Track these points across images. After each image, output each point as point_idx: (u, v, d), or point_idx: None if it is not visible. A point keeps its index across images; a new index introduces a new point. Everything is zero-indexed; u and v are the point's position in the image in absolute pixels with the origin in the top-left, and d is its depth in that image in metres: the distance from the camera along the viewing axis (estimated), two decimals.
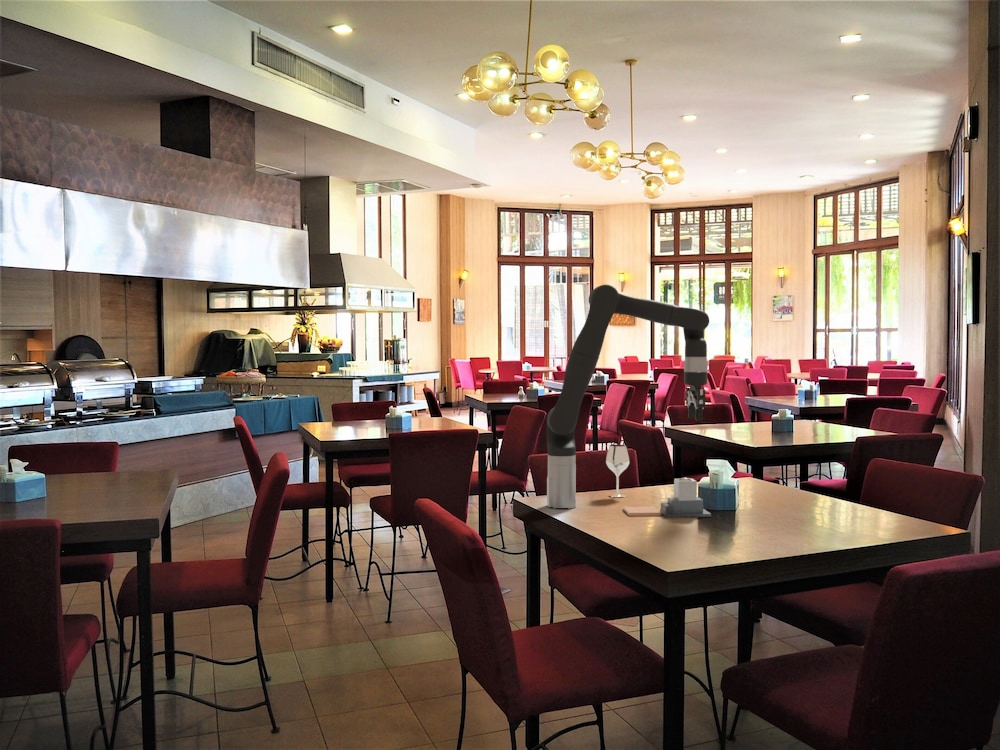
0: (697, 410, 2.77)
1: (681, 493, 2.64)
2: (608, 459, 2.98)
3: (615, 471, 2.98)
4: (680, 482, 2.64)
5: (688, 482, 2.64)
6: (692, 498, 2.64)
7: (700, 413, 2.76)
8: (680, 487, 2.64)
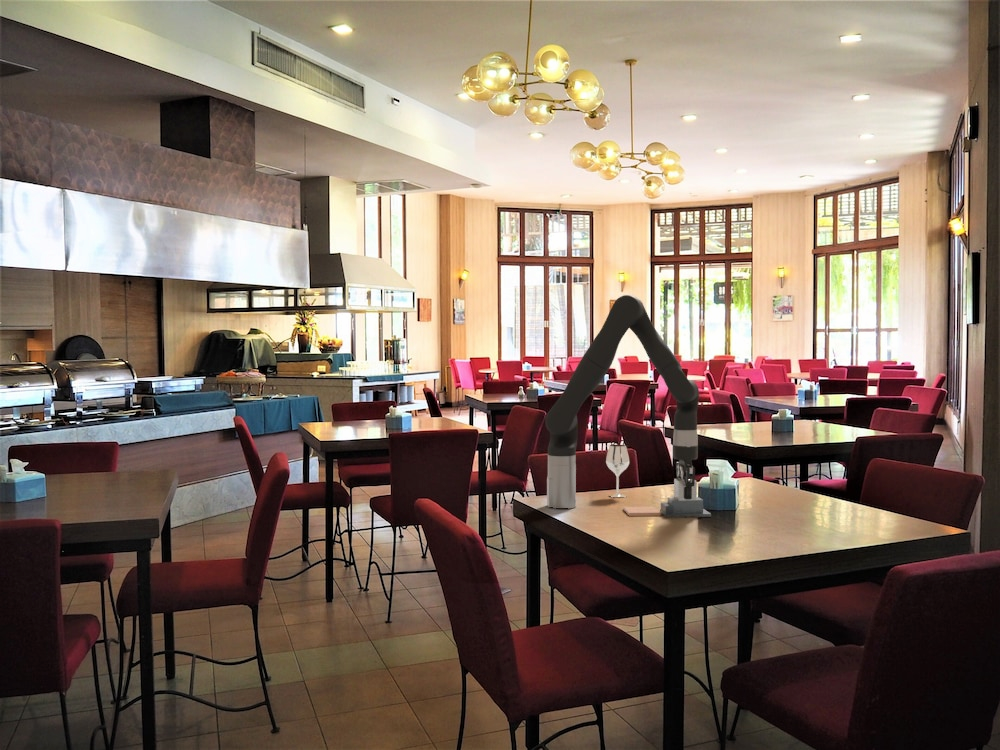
0: (686, 488, 2.63)
1: (681, 493, 2.64)
2: (608, 459, 2.98)
3: (615, 471, 2.98)
4: (680, 482, 2.64)
5: None
6: (692, 498, 2.64)
7: (689, 492, 2.63)
8: (680, 487, 2.64)
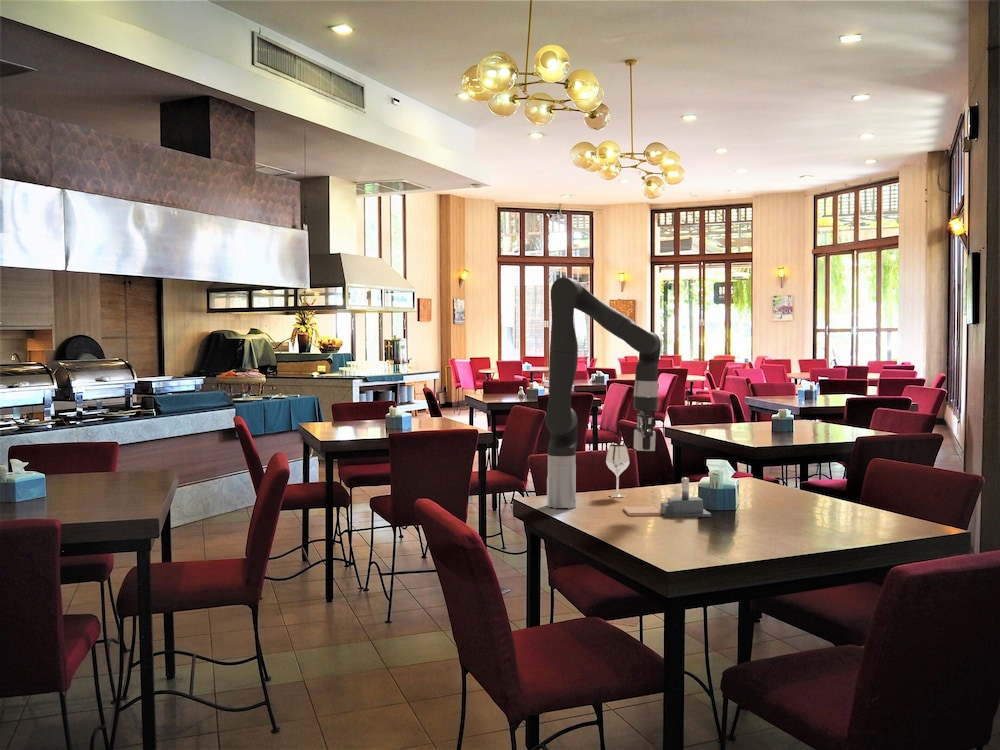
0: (644, 439, 2.66)
1: (640, 443, 2.67)
2: (608, 459, 2.98)
3: (615, 471, 2.98)
4: (639, 432, 2.66)
5: None
6: (651, 448, 2.67)
7: (647, 442, 2.65)
8: (639, 437, 2.67)
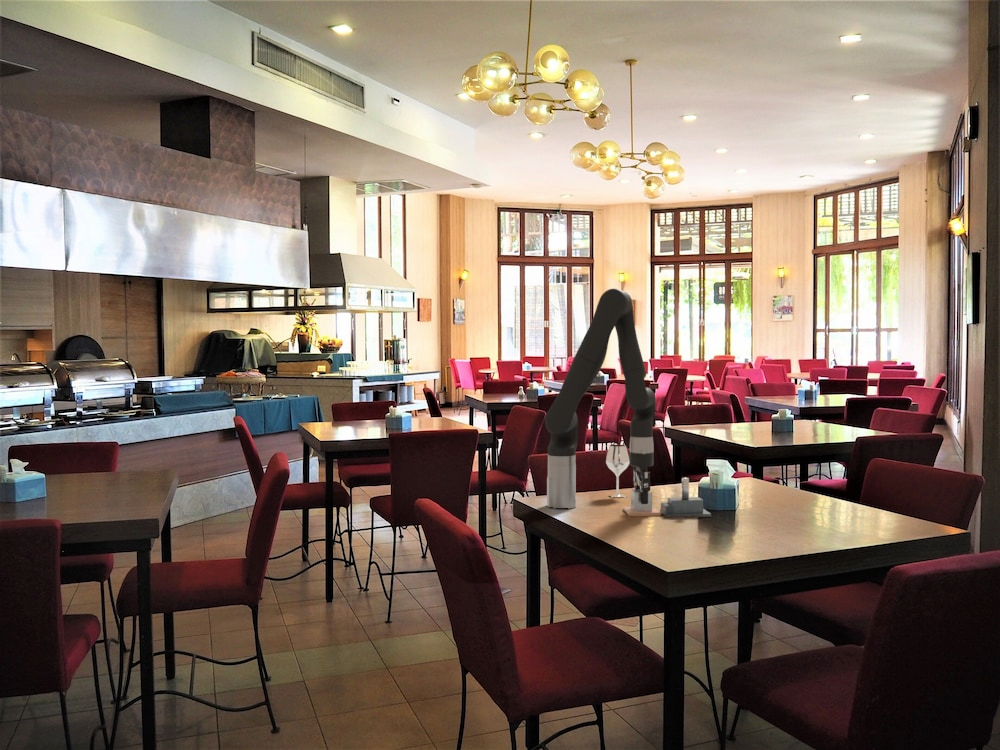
0: (642, 493, 2.65)
1: (637, 504, 2.67)
2: (608, 459, 2.98)
3: (615, 471, 2.98)
4: (636, 493, 2.67)
5: None
6: (648, 509, 2.68)
7: (645, 496, 2.65)
8: (636, 498, 2.67)
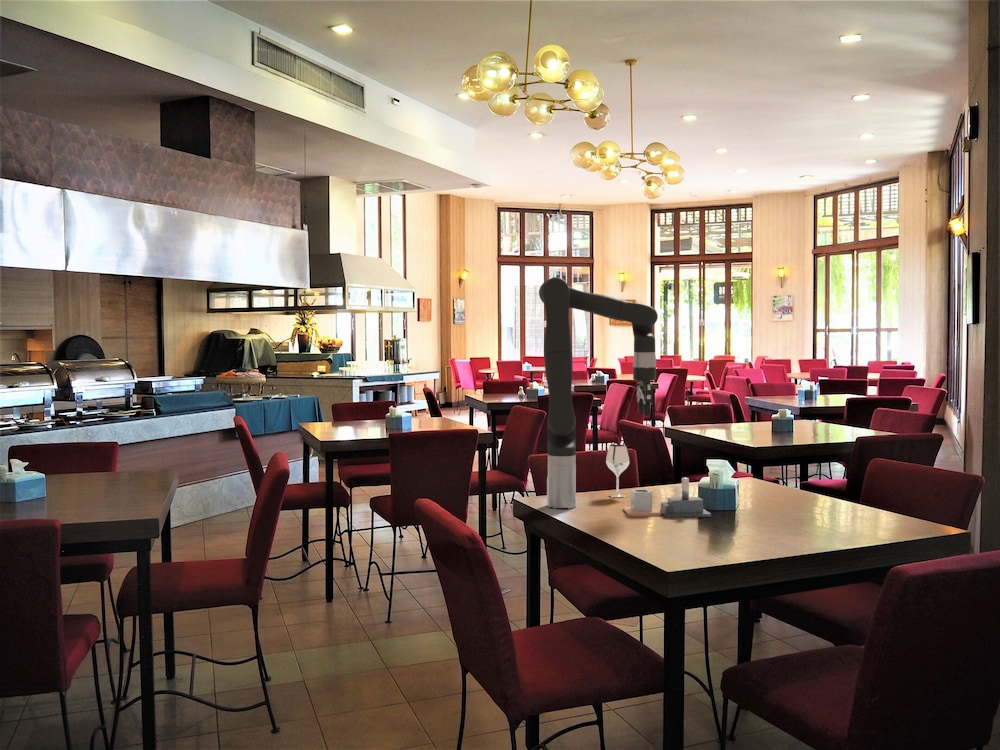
0: (645, 405, 2.79)
1: (637, 504, 2.67)
2: (608, 459, 2.98)
3: (615, 471, 2.98)
4: (636, 493, 2.67)
5: (644, 493, 2.67)
6: (648, 509, 2.68)
7: (648, 408, 2.78)
8: (636, 498, 2.67)
